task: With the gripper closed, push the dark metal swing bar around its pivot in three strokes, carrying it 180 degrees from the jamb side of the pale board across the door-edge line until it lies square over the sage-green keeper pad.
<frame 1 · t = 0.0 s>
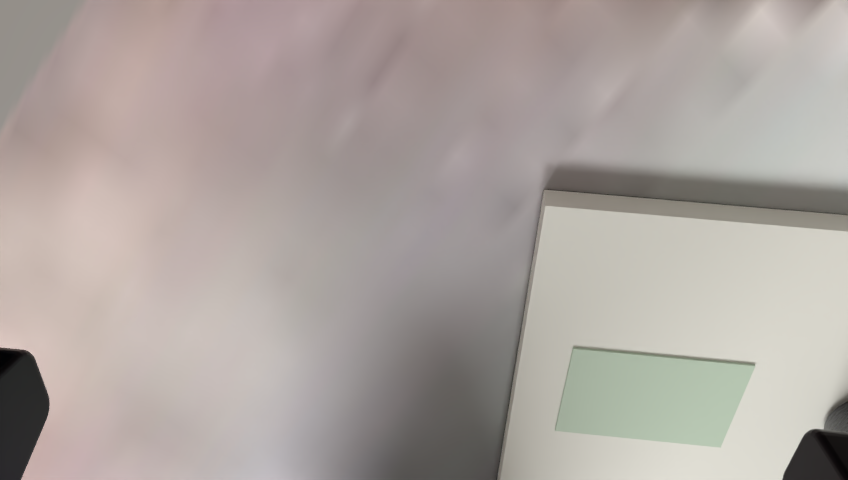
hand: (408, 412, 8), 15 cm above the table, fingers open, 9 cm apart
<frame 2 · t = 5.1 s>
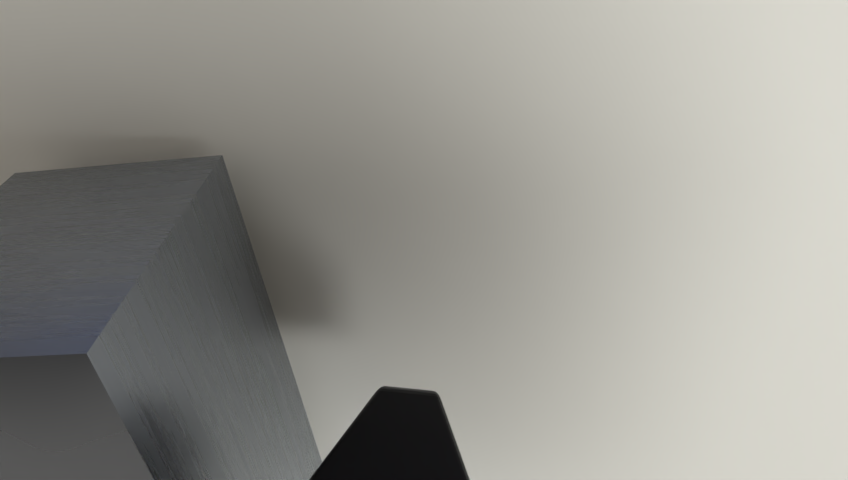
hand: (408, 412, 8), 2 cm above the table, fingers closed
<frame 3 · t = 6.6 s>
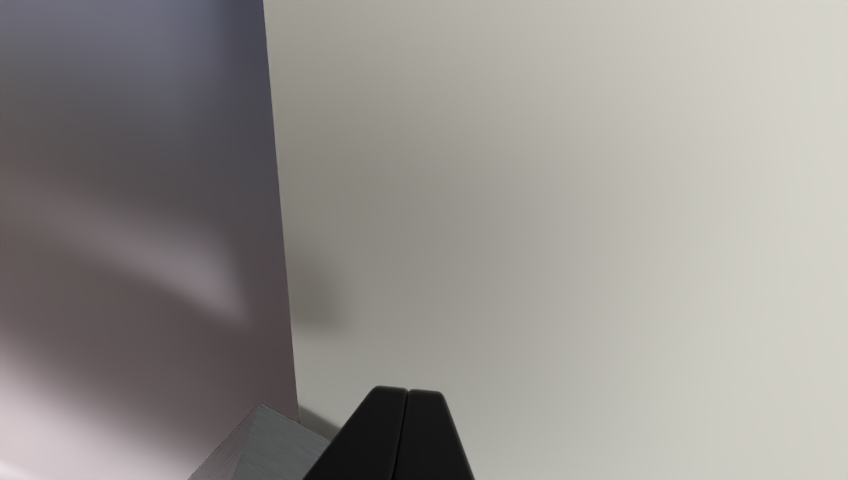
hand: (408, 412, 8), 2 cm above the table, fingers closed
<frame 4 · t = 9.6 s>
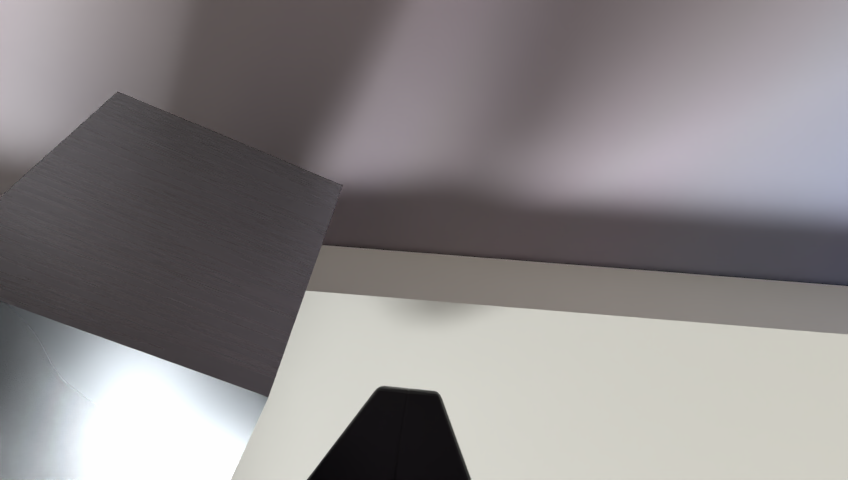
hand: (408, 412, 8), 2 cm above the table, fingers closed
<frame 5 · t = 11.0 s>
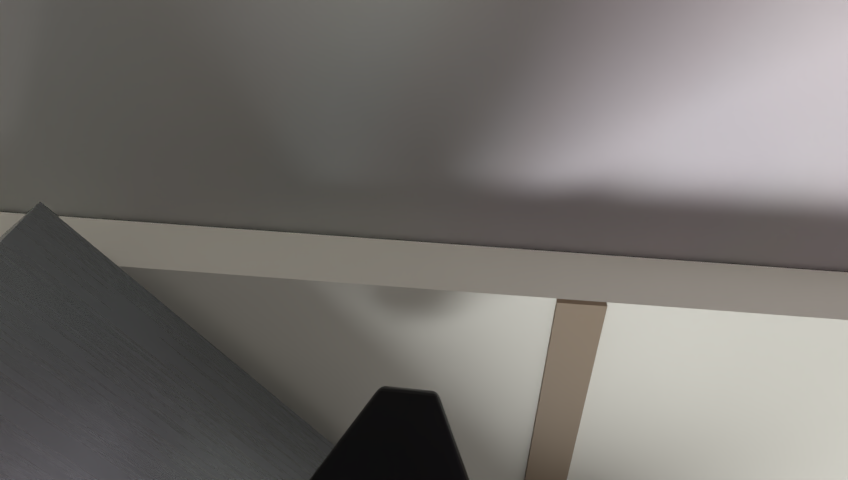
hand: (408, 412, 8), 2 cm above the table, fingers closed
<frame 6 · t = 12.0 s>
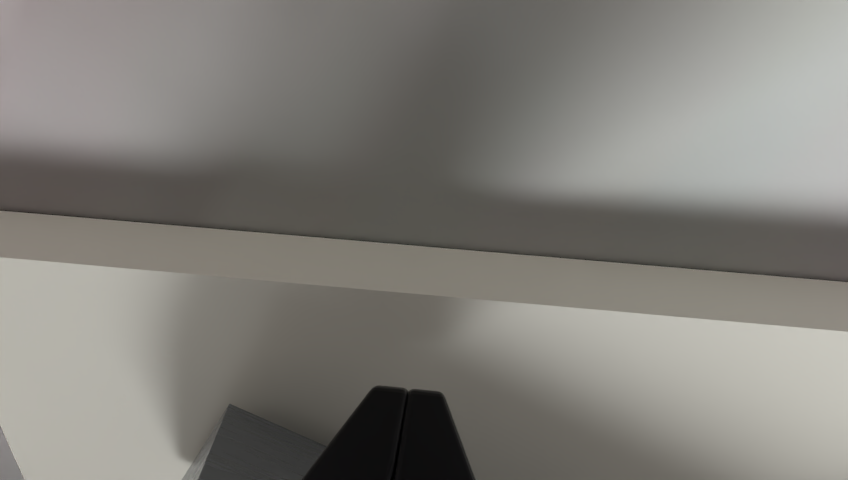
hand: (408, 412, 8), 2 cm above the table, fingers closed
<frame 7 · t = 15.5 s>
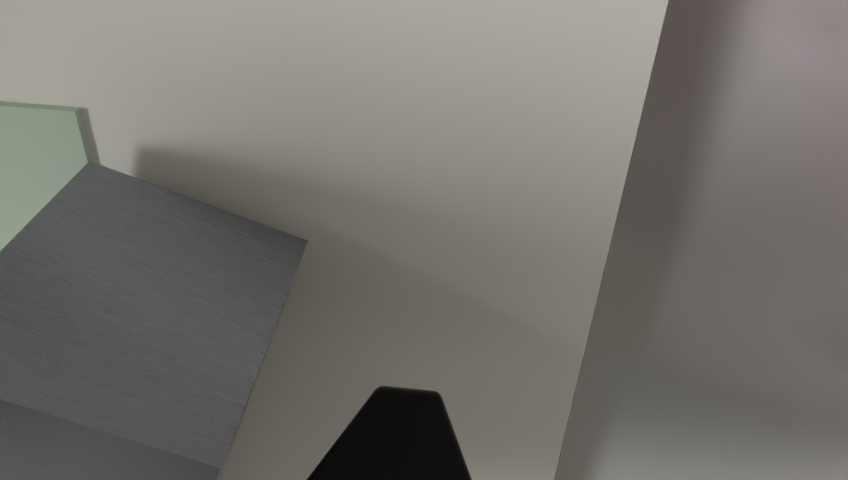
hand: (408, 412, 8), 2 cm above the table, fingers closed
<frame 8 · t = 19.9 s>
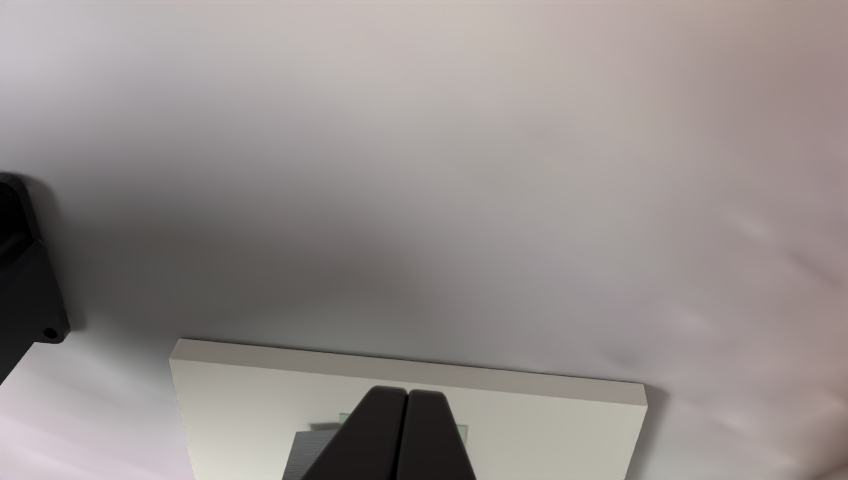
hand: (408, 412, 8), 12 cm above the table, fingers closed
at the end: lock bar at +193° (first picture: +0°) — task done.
